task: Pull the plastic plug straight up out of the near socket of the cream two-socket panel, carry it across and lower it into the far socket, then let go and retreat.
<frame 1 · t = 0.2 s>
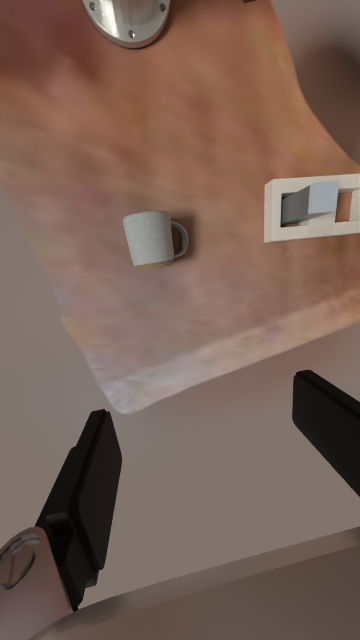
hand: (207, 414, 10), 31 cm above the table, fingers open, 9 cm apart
ceramic mug: (157, 242, 36), on the table
plug: (286, 213, 38), resting in jack panel
jack panel: (312, 211, 38), on the table
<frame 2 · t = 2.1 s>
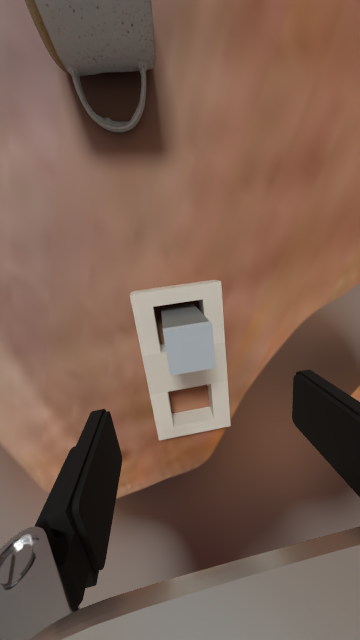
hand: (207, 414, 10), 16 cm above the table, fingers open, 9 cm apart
ceramic mug: (111, 66, 18), on the table
plug: (178, 320, 25), resting in jack panel
jack panel: (184, 359, 26), on the table
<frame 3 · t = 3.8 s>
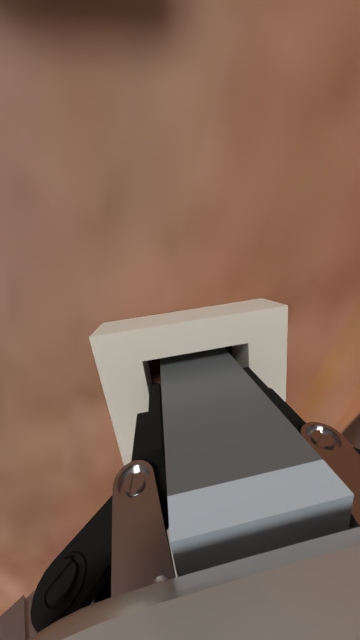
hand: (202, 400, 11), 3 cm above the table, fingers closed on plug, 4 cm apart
plug: (193, 374, 13), resting in jack panel, touching gripper
jack panel: (201, 438, 15), on the table
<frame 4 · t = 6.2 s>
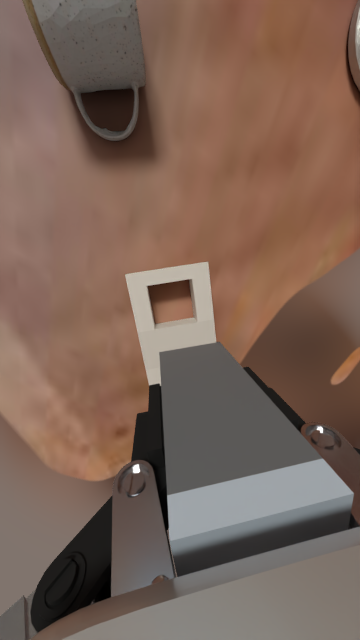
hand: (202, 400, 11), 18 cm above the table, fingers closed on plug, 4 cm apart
ceramic mug: (108, 84, 20), on the table
plug: (193, 373, 13), point 15 cm above the table, touching gripper
jack panel: (177, 338, 28), on the table
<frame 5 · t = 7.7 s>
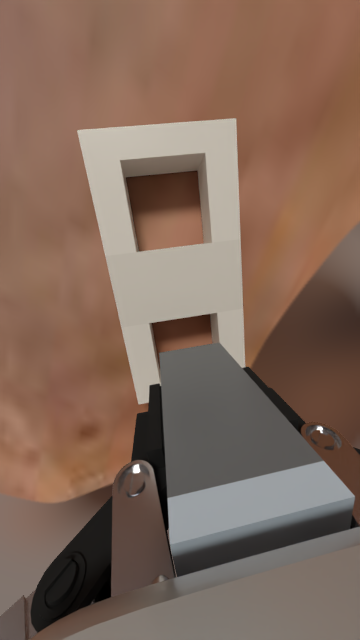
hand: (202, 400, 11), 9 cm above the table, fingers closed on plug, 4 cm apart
plug: (193, 374, 13), point 6 cm above the table, touching gripper
jack panel: (176, 281, 17), on the table
when the fingers open (4 cm above the table, at t = 8.9 s): plug drops 1 cm, resting in jack panel.
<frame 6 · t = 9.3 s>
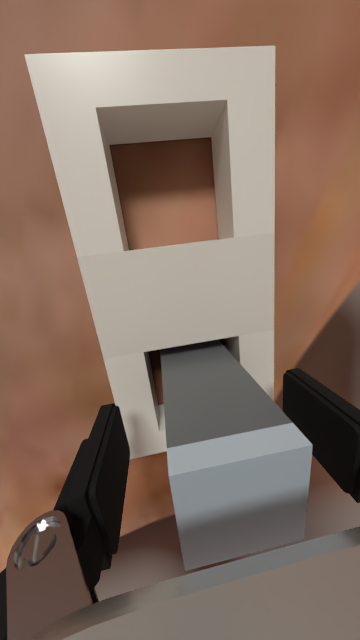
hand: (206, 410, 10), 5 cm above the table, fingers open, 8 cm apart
plug: (190, 365, 14), resting in jack panel
jack panel: (180, 292, 13), on the table
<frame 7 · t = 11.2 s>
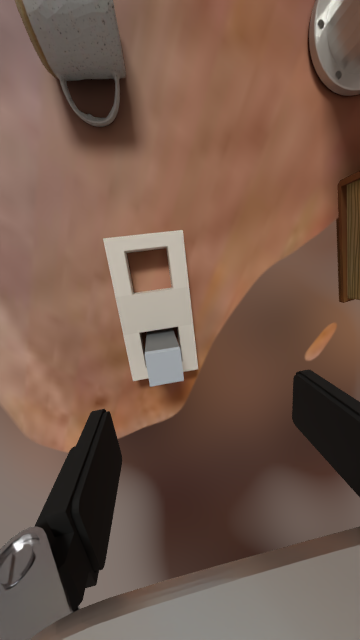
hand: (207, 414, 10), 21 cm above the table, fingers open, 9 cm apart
ceramic mug: (93, 75, 22), on the table
plug: (161, 341, 31), resting in jack panel
jack panel: (155, 308, 29), on the table
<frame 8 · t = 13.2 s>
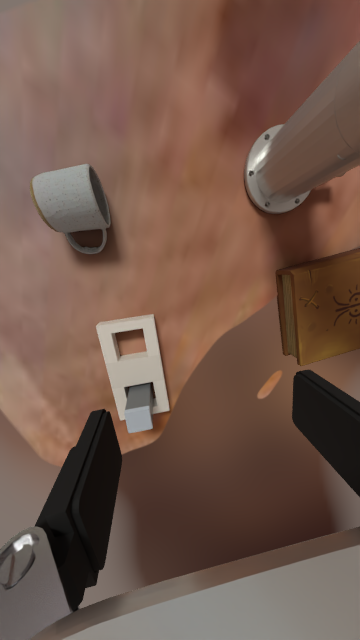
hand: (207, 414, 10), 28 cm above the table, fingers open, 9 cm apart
ceramic mug: (88, 219, 32), on the table
plug: (142, 388, 40), resting in jack panel
jack panel: (137, 365, 39), on the table
diary: (328, 300, 41), on the table
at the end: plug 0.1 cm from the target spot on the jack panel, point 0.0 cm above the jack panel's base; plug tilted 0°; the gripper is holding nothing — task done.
